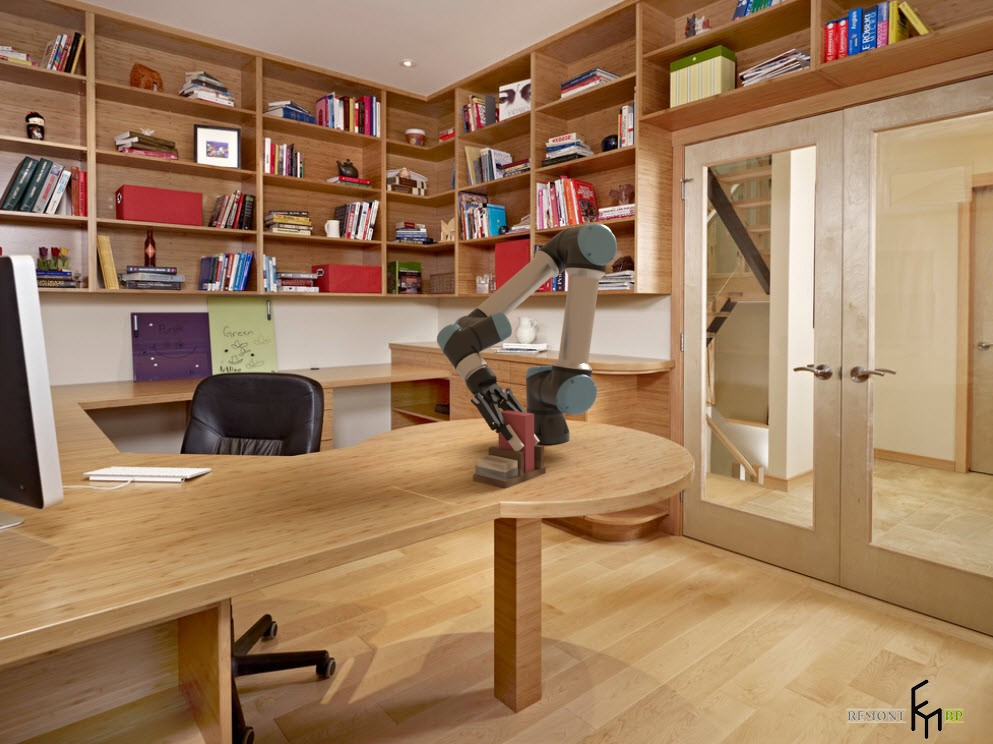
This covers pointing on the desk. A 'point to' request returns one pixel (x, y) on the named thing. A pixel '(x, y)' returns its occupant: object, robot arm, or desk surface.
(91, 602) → the desk surface
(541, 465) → the book stand
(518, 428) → the book
